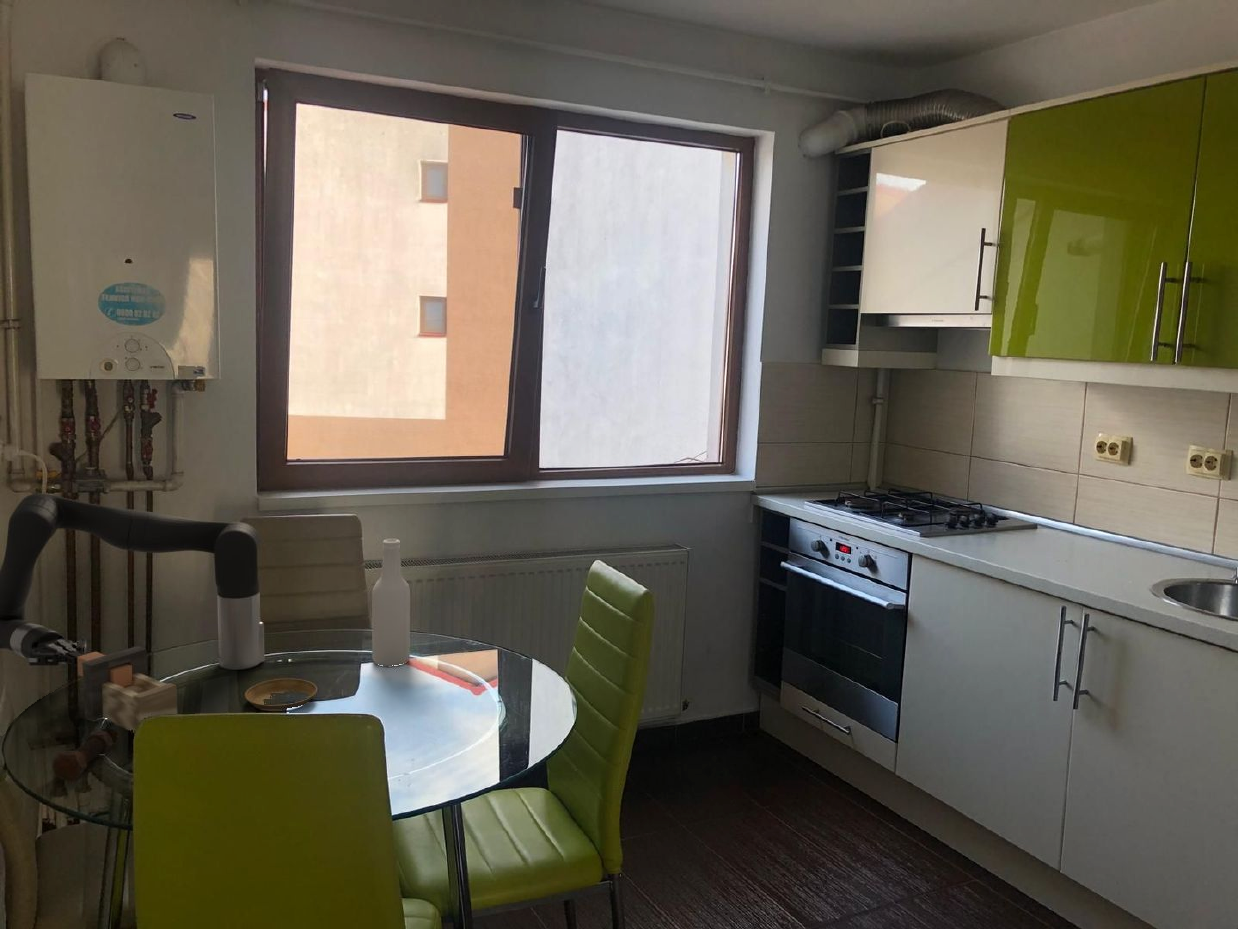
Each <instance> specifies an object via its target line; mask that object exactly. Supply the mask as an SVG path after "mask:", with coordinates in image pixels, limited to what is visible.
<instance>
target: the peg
mask: <svg viewBox="0 0 1238 929" xmlns="http://www.w3.org/2000/svg"><path fill="white" fill-rule="evenodd" d="M102 656H106V654H103V653H102V652H101V653H100V652H98V651H93V652H89V653H85V654H84V655H82V656H79V657H77V661H78V666H77V674H78V676H80V677H82V678H83V667H82V662H86V661H89V660H92V659H96V658H99V657H102ZM109 682H112V683H114V684H117V685H119V686H121V687H125V686H128V685H131V684H133V683H132V666H131V665H128V664H126V663H124V664H120V665H117V666H114V667H111V668H109Z"/></svg>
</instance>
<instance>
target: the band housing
mask: <svg viewBox="0 0 1238 929" xmlns="http://www.w3.org/2000/svg"><path fill="white" fill-rule="evenodd" d="M105 655H106V654H105ZM147 658H148V654H147V648H144V647H141V646H139V645H136V646H133V647H130V648H126V649H124V650H120V651H117V652H113V653H110V654H107V655H106V656H102V657H99V658H96V659H92V660H89V661H86V662H82V667H83V677H82V681H83V682H82V683H83V701H84V718H85V717H87V718H89V719H91V720H96V719H98V718H102V717H104V718H108V719H109V720H111V721H112V722H114V723H116V724H119V725H120V726H122V727H124V728H125V730H127V731H129V730H130V731H129V732H131V730H133V732H132V733H133V734H135V733H134V731H135V727H136V725H137V724H139V723H140V722H141V720H143V719H144V718H148V717H151V716H156V715H164V714H177V715H178V698H177V697H178V693H177V691H178V690H177V685H176V684H174V683H171V682H169V683H166V682H163V681H159V680H158V679H155V678H153V677H150V676H149V675H148V659H147ZM124 663H126V664H128V665H131V666H132V683H133V684H131V685H128V686H125V687H121V686H119V685H117V684H114V683H112V682H109V668H111V667H114V666H117V665H120V664H124ZM116 724H115V725H116ZM120 726H119V727H120ZM122 727H121V728H122ZM124 728H123V729H124Z"/></svg>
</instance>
